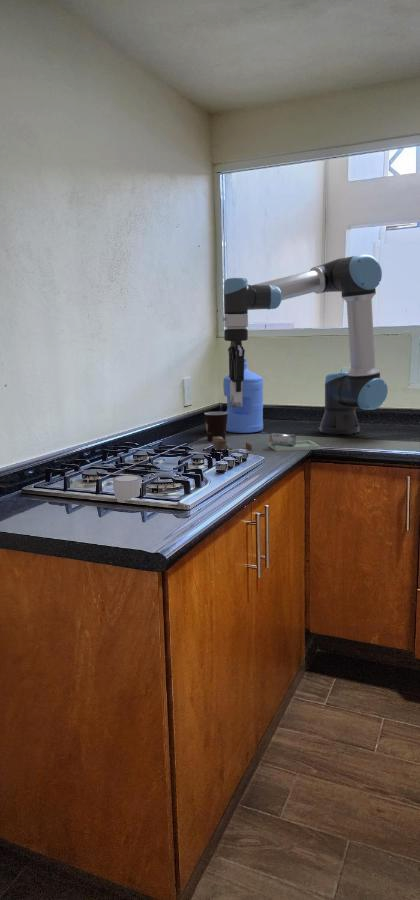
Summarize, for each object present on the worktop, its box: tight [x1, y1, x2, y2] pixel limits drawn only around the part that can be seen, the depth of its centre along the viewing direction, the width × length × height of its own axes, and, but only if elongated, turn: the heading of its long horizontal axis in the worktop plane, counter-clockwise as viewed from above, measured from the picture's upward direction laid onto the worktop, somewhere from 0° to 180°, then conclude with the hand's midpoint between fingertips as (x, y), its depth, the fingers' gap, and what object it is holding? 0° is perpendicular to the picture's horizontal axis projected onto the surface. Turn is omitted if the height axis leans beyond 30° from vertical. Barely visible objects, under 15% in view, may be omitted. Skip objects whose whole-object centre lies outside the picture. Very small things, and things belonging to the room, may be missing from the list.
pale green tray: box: [268, 439, 321, 452], centre depth 203 cm, size 15×10×1 cm, turn 100°
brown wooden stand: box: [211, 436, 253, 450], centre depth 200 cm, size 12×9×5 cm
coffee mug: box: [203, 411, 228, 442], centre depth 220 cm, size 12×9×10 cm
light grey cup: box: [111, 474, 143, 503], centre depth 141 cm, size 7×7×7 cm
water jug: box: [222, 358, 264, 434], centre depth 237 cm, size 16×16×28 cm
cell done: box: [268, 432, 297, 447], centre depth 202 cm, size 4×4×9 cm
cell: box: [230, 382, 242, 408], centre depth 196 cm, size 4×4×9 cm
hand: (236, 401), depth 197 cm, fingers closed on cell, 3 cm apart
